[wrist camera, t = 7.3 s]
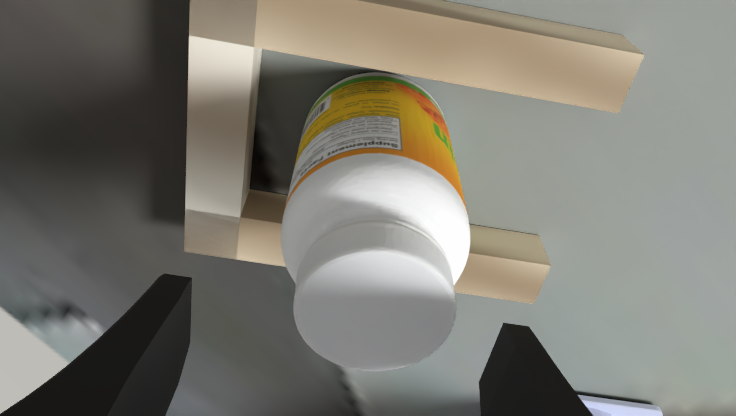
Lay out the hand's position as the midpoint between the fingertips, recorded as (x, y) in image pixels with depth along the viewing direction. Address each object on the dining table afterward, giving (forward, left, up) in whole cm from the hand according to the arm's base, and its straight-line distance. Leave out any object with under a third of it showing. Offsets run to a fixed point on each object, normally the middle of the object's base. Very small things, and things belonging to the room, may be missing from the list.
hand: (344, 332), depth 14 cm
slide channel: (0, -2, -10) cm, 11 cm away
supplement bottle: (0, -1, -11) cm, 11 cm away
